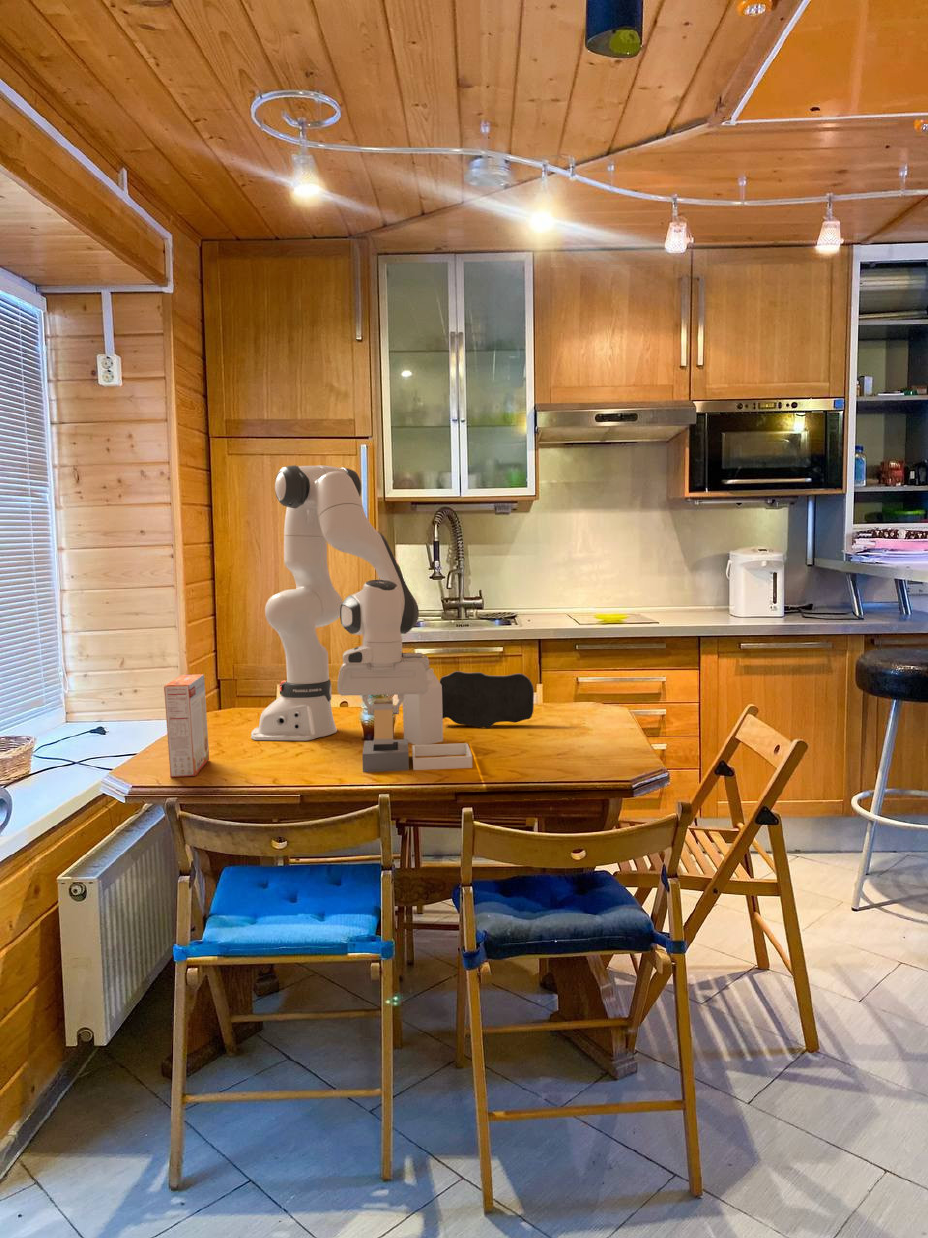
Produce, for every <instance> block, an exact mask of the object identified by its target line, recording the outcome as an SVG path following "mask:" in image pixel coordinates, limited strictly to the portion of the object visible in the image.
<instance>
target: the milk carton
mask: <svg viewBox="0 0 928 1238" xmlns="http://www.w3.org/2000/svg"><path fill="white" fill-rule="evenodd" d="M426 674H427V681H428V691H427V692H426V693H425V694H404V700H403V702H402V715H403V716H402V719H403V721H402V722H403V725H402V726H403V739H408V744H412V745H433V744H437V743H441V742H444V725H443V724H444V723H443V721H444V719H443V714H442V685H441V684H440V680H439V679H438V678H437V676H436V675H435V672H434V668H429V669H428V671H427V672H426Z"/></svg>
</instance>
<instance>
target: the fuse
mask: <svg viewBox="0 0 928 1238" xmlns="http://www.w3.org/2000/svg"><path fill="white" fill-rule="evenodd" d="M393 700H394V699H393V698H374V700H373V705H372V706H373V709H374V715H373V722H374V723H373V725H374V727H373V728H374V729H373V730H374V731H373V732H374V734H373V735H374V736H373V740H374V744H393V740H394V728H393V727H394V726H393V725H394V719H393V715H394V714H393V705H394V701H393Z"/></svg>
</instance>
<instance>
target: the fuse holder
mask: <svg viewBox="0 0 928 1238" xmlns="http://www.w3.org/2000/svg"><path fill="white" fill-rule="evenodd" d="M409 763H410V761H409V743H408V739H404V738H403V739H402V738H401V739H393V744H374V739H373V740H364V741H363V748H362V772H363V773H374V772H375V773H376V772H377V773H378V772H379V773H380V772H397V771H398V772H399V771H400V772H401V771H409V770H410V764H409Z"/></svg>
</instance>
